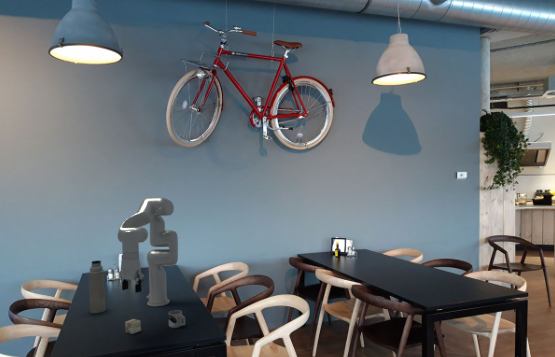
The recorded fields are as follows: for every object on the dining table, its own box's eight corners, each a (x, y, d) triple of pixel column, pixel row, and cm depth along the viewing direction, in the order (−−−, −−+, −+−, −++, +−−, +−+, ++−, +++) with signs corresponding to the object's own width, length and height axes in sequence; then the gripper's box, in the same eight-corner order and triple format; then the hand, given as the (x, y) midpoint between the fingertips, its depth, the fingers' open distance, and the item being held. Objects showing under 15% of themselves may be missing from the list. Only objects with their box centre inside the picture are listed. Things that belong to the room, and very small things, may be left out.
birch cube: (125, 332, 207) (125, 321, 206) (134, 328, 211) (133, 318, 211) (132, 334, 204) (131, 323, 204) (140, 330, 208) (140, 320, 208)
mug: (166, 326, 213) (165, 313, 213) (176, 322, 219) (175, 309, 218) (180, 330, 208) (179, 316, 207) (190, 325, 213) (189, 312, 213)
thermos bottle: (87, 311, 239) (86, 261, 239) (102, 307, 245) (100, 258, 244) (93, 314, 234) (91, 263, 233) (107, 310, 239) (106, 260, 238)
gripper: (112, 255, 208) (113, 290, 208) (136, 258, 199) (137, 295, 199) (125, 252, 214) (126, 286, 215) (149, 255, 205) (150, 291, 205)
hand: (131, 290), depth 207 cm, fingers open, 9 cm apart
